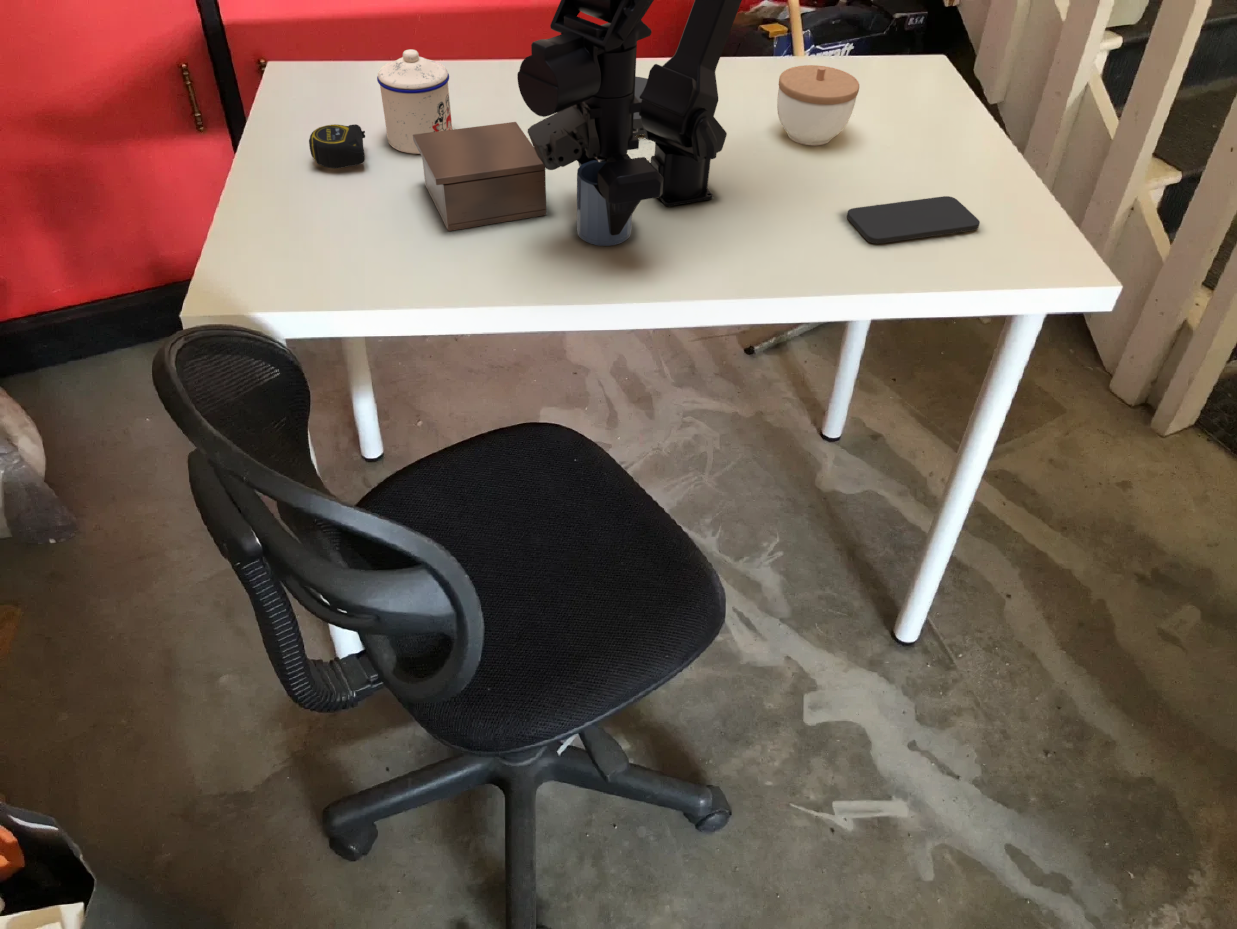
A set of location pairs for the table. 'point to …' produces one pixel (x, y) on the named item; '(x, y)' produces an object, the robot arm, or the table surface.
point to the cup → (595, 209)
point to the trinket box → (815, 102)
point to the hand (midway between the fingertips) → (604, 219)
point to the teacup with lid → (414, 99)
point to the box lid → (477, 153)
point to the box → (489, 199)
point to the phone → (912, 219)
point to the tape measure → (337, 145)
